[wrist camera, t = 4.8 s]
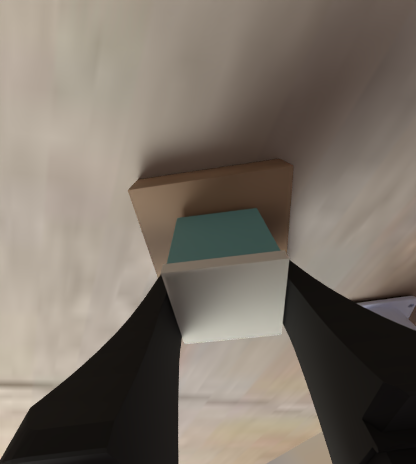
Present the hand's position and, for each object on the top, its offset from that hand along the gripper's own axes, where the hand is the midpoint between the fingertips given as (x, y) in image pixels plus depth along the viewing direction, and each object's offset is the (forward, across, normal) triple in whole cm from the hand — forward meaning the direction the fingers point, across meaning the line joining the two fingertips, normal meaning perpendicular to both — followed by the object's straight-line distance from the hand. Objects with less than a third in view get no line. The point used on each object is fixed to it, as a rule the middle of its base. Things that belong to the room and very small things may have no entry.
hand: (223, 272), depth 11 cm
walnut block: (+5, 0, 0) cm, 5 cm away
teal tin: (+2, 0, 0) cm, 2 cm away
